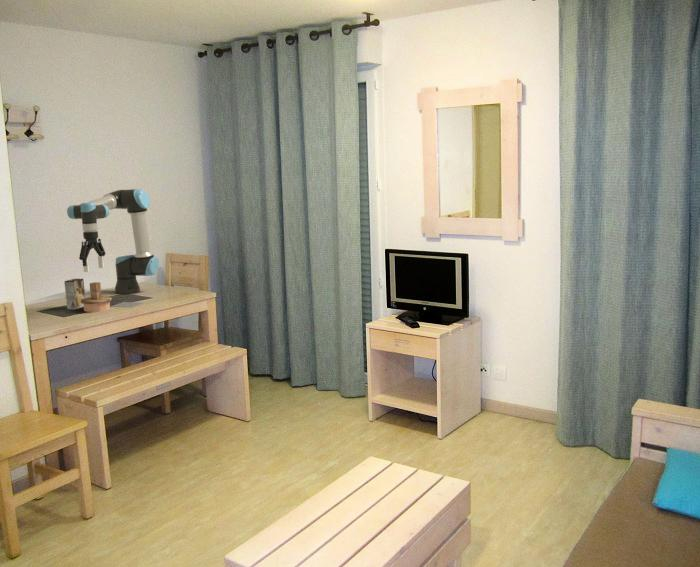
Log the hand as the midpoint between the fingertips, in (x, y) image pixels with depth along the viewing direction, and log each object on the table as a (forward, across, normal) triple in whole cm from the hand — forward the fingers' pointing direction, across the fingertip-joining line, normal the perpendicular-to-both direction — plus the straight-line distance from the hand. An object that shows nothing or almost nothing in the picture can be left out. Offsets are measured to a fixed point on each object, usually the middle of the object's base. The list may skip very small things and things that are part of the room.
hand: (94, 269), depth 376 cm
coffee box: (+23, -3, -16) cm, 28 cm away
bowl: (+22, +1, 0) cm, 22 cm away
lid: (+17, 0, 0) cm, 17 cm away
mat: (+22, -13, +10) cm, 28 cm away
